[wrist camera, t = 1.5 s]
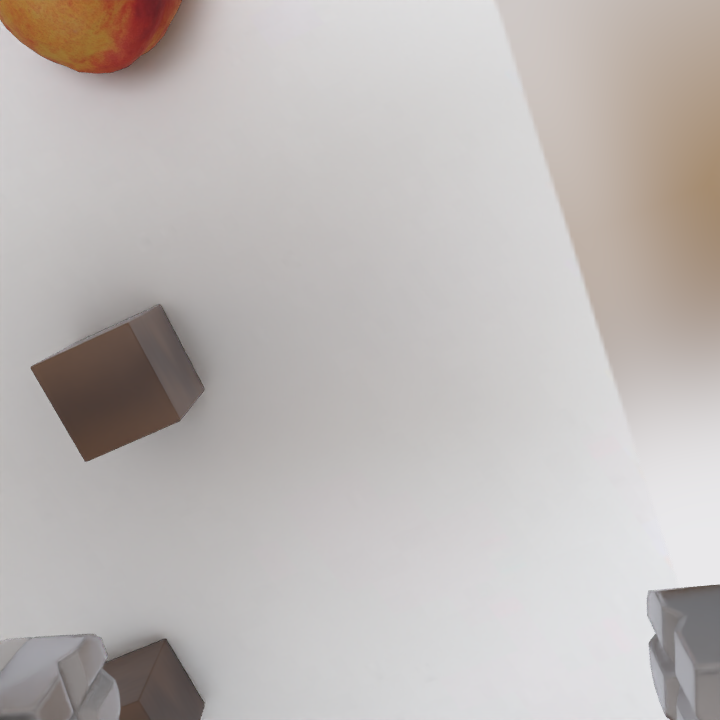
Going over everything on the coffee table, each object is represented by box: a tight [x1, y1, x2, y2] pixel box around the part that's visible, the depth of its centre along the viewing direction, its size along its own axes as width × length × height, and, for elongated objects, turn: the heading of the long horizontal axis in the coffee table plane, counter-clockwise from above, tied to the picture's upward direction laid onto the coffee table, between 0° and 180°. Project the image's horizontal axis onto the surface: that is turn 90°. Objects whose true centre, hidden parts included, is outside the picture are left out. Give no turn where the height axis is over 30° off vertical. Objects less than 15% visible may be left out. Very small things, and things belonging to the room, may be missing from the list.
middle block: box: [31, 305, 204, 462], centre depth 33 cm, size 5×5×5 cm
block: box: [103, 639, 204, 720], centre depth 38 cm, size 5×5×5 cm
